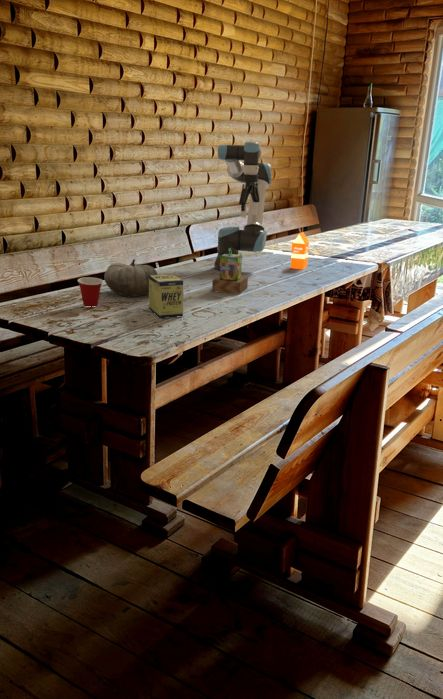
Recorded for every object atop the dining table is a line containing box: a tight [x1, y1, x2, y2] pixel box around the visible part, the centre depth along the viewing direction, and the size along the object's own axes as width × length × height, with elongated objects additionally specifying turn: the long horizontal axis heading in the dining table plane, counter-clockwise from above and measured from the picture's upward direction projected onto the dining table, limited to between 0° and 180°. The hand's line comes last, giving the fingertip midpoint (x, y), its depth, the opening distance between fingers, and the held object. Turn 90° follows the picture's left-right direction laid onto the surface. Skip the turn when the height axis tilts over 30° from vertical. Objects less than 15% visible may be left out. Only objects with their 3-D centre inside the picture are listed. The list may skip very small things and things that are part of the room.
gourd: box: [103, 258, 158, 297], centre depth 318 cm, size 25×25×17 cm
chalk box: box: [219, 248, 243, 281], centre depth 330 cm, size 9×9×15 cm
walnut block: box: [211, 274, 249, 295], centre depth 334 cm, size 14×14×6 cm
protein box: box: [148, 273, 184, 319], centre depth 286 cm, size 10×16×16 cm
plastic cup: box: [77, 276, 104, 307], centre depth 294 cm, size 11×11×12 cm
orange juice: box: [290, 231, 310, 270], centre depth 390 cm, size 8×9×20 cm
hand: (248, 216), depth 349 cm, fingers open, 13 cm apart
